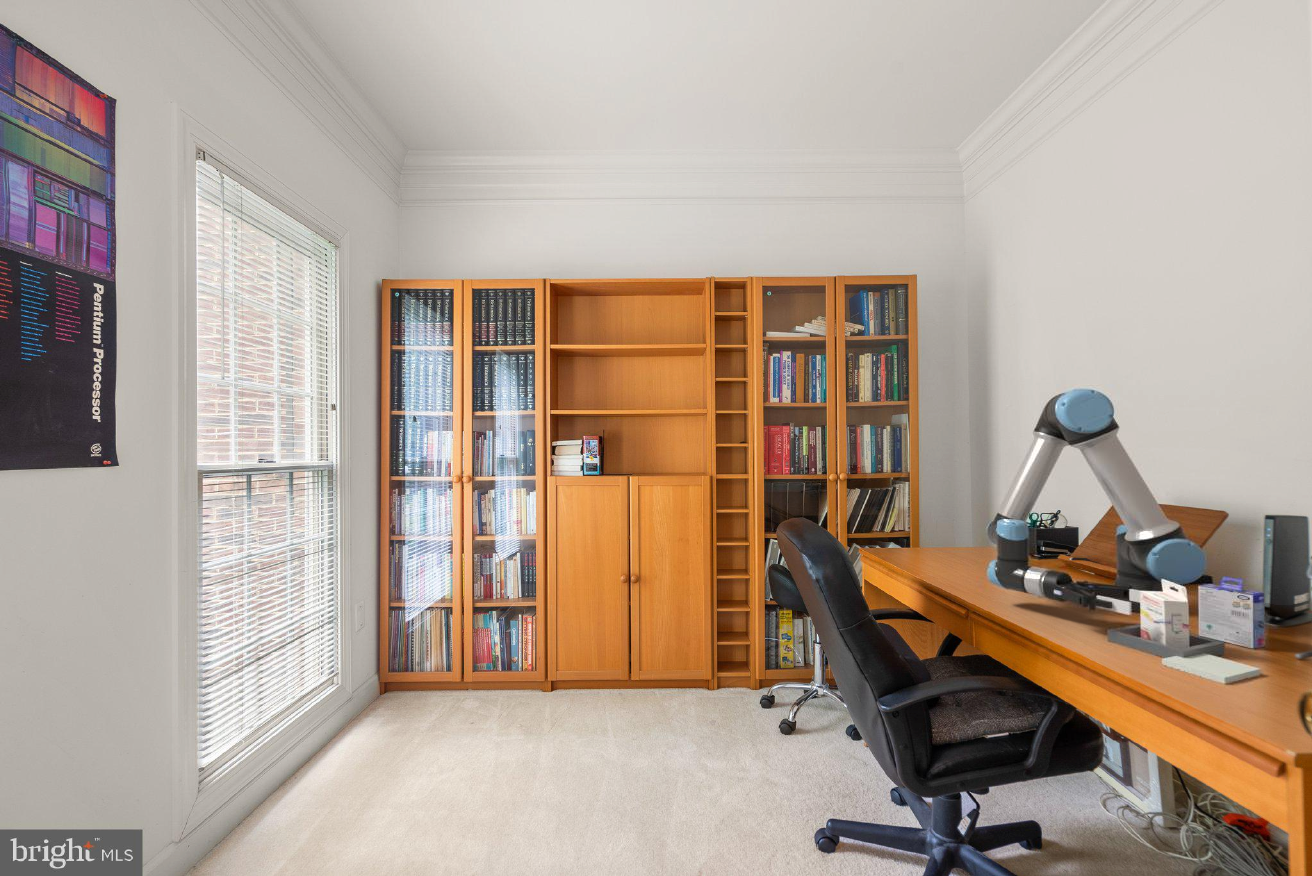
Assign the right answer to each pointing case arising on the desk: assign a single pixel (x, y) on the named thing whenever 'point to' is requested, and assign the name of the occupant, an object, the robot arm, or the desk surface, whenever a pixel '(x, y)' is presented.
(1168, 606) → the ink cartridge box
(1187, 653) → the dock
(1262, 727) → the desk surface
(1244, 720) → the desk surface
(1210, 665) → the board
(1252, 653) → the desk surface
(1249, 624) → the ink cartridge box
